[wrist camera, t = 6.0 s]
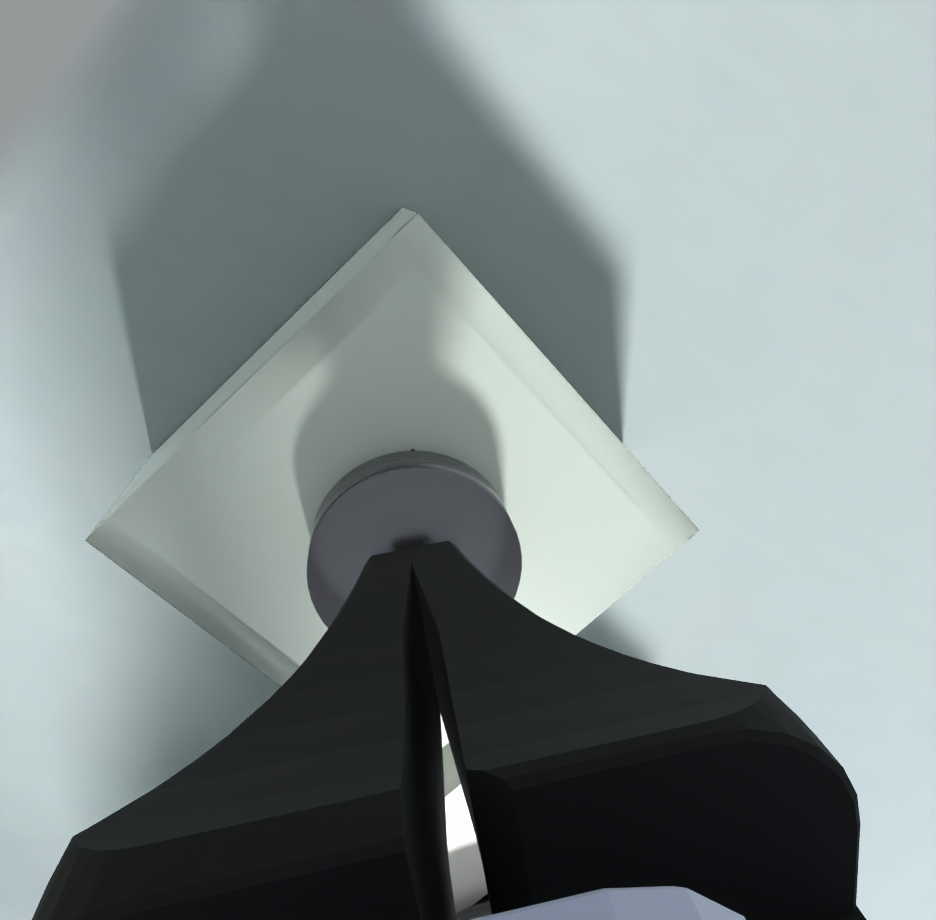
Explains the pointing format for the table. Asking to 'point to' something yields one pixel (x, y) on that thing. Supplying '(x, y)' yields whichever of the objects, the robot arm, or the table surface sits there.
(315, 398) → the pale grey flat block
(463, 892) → the white square block
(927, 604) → the table surface
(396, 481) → the plunger
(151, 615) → the table surface
